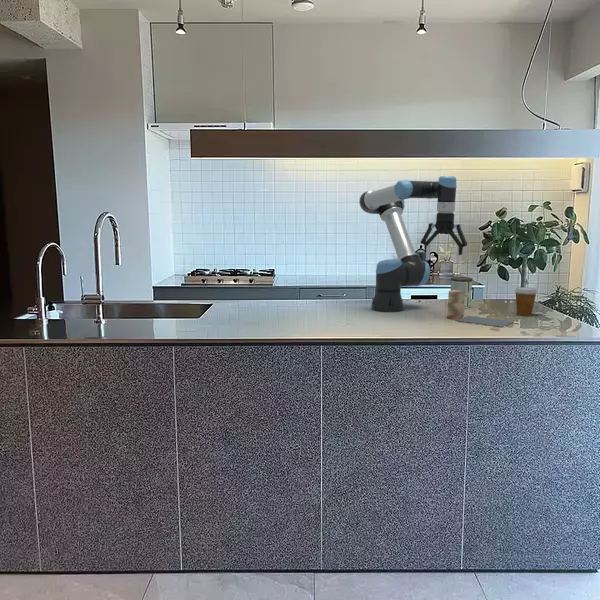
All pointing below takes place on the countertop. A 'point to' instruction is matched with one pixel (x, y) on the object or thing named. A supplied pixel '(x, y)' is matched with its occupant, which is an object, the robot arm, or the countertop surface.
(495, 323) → the mat
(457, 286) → the lidded glass jar
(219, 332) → the countertop surface
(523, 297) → the disposable coffee cup
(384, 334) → the countertop surface
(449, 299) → the oak block
